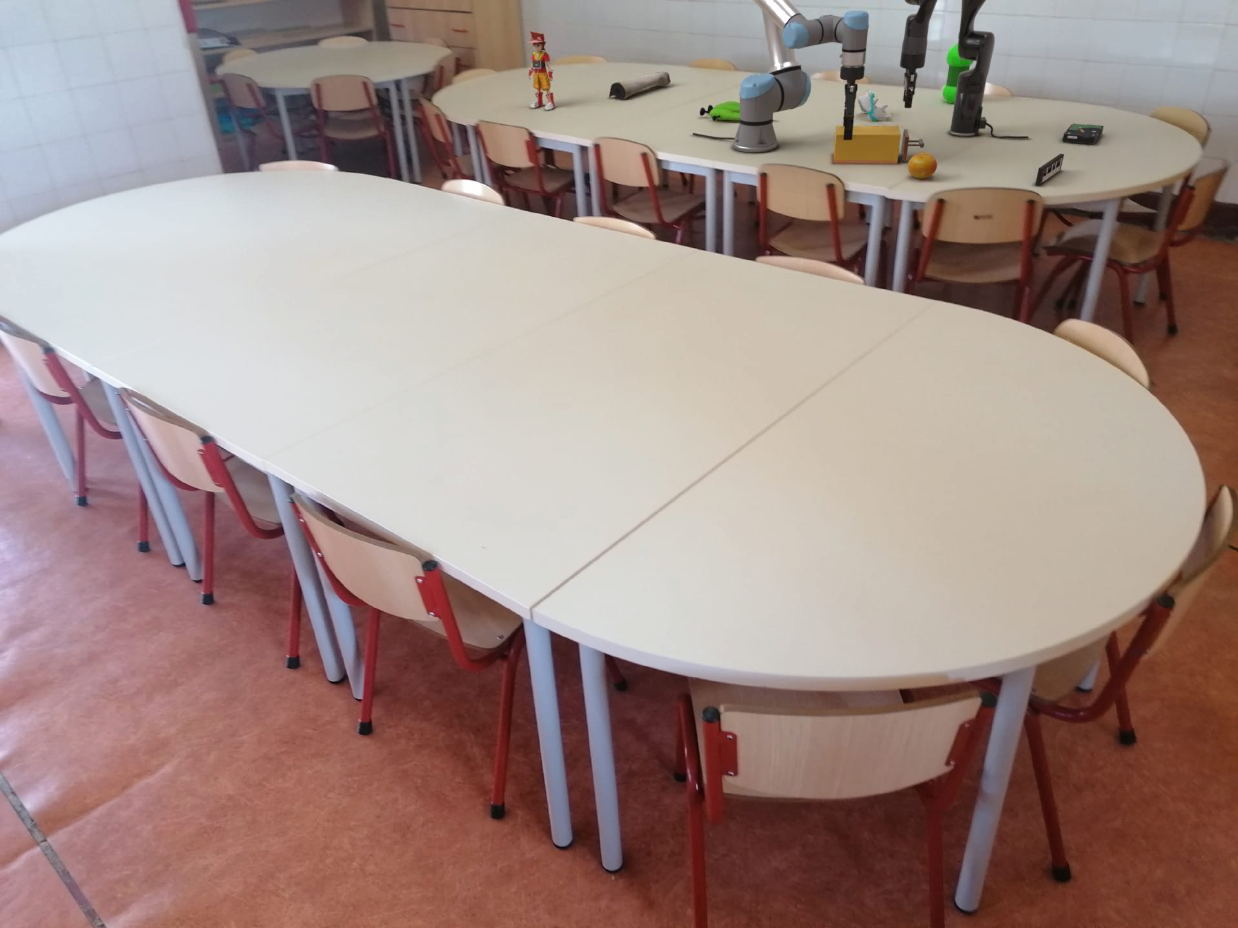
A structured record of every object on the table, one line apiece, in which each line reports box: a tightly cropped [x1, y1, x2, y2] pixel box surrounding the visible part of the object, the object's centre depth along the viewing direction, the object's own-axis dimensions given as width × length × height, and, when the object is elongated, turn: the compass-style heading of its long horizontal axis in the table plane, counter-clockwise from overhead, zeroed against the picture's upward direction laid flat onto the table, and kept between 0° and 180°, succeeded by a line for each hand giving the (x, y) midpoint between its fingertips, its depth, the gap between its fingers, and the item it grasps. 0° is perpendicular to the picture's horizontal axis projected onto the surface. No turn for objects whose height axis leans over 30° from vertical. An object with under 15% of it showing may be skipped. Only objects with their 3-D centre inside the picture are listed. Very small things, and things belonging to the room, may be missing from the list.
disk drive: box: [1061, 123, 1105, 145], centre depth 306 cm, size 10×3×15 cm
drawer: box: [900, 129, 925, 161], centre depth 297 cm, size 24×9×7 cm, turn 79°
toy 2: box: [699, 100, 777, 122], centre depth 351 cm, size 28×5×30 cm
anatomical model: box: [857, 89, 892, 122], centre depth 341 cm, size 15×10×10 cm
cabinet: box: [833, 125, 902, 165], centre depth 298 cm, size 20×11×9 cm, turn 79°
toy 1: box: [527, 31, 556, 111], centre depth 374 cm, size 12×9×30 cm
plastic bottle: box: [942, 34, 974, 104], centre depth 348 cm, size 10×10×25 cm
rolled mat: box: [608, 71, 672, 101], centre depth 395 cm, size 30×9×10 cm
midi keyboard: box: [1035, 153, 1065, 186], centre depth 273 cm, size 18×1×5 cm, turn 138°
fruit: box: [907, 152, 938, 179], centre depth 279 cm, size 8×8×8 cm
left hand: (847, 134), depth 297 cm, fingers open, 13 cm apart
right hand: (907, 104), depth 292 cm, fingers open, 8 cm apart
